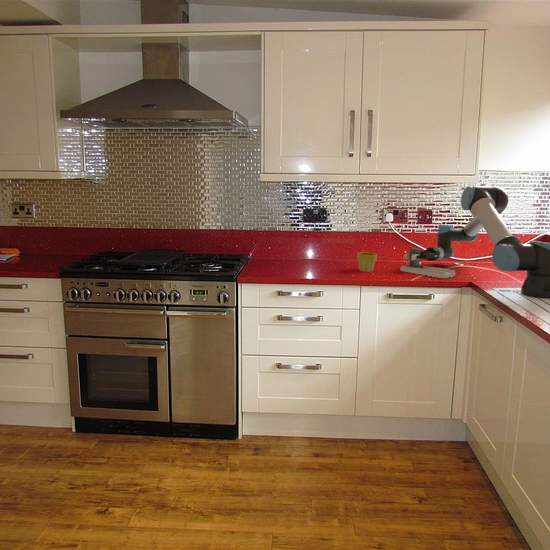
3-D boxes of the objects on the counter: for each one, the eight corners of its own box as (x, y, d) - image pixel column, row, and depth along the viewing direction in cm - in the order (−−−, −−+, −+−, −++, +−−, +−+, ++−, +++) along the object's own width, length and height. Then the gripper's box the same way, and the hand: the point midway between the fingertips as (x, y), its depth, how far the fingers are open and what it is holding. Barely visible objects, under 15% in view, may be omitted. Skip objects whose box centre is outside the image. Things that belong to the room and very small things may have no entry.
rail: (454, 276, 259) (455, 270, 259) (444, 278, 253) (444, 272, 252) (411, 270, 279) (411, 264, 278) (400, 271, 272) (400, 265, 272)
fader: (422, 267, 271) (423, 248, 270) (415, 269, 267) (416, 249, 265) (413, 266, 276) (414, 247, 274) (405, 267, 271) (406, 248, 270)
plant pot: (378, 271, 273) (379, 253, 271) (371, 274, 264) (373, 255, 262) (360, 269, 278) (361, 251, 276) (353, 272, 269) (354, 253, 267)
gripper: (446, 262, 276) (421, 266, 261) (420, 258, 289) (395, 262, 274) (447, 248, 275) (422, 251, 260) (421, 245, 287) (395, 248, 272)
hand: (408, 257), depth 267 cm, fingers closed on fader, 3 cm apart
